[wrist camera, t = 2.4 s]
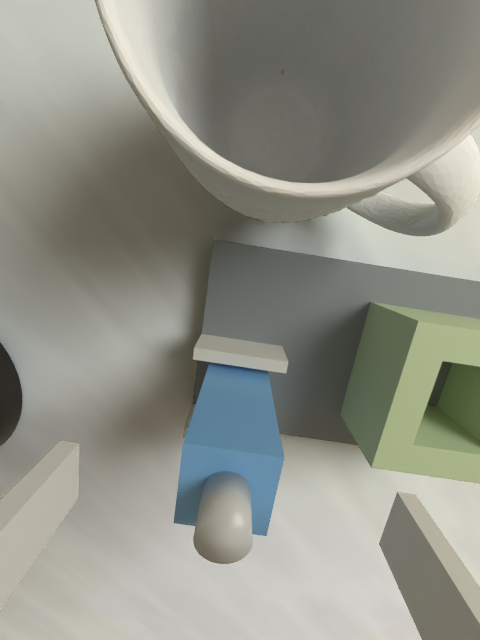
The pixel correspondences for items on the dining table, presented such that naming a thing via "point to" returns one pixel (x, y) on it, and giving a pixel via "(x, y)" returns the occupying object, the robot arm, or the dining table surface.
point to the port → (416, 393)
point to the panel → (309, 325)
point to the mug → (313, 101)
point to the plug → (230, 463)
